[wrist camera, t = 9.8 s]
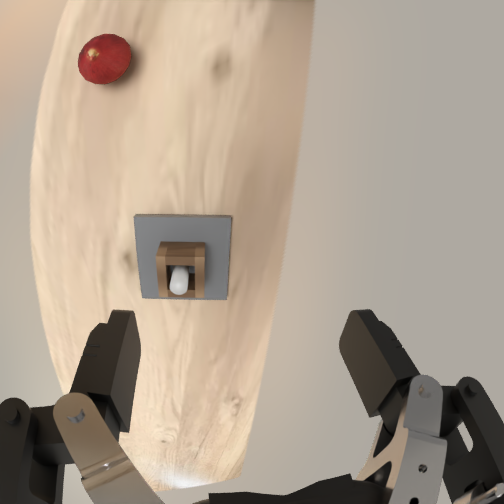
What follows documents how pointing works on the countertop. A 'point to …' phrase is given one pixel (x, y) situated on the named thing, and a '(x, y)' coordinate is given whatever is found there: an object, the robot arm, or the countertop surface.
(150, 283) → the post stand
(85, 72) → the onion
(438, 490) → the robot arm
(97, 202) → the countertop surface
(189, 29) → the countertop surface
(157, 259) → the ring
